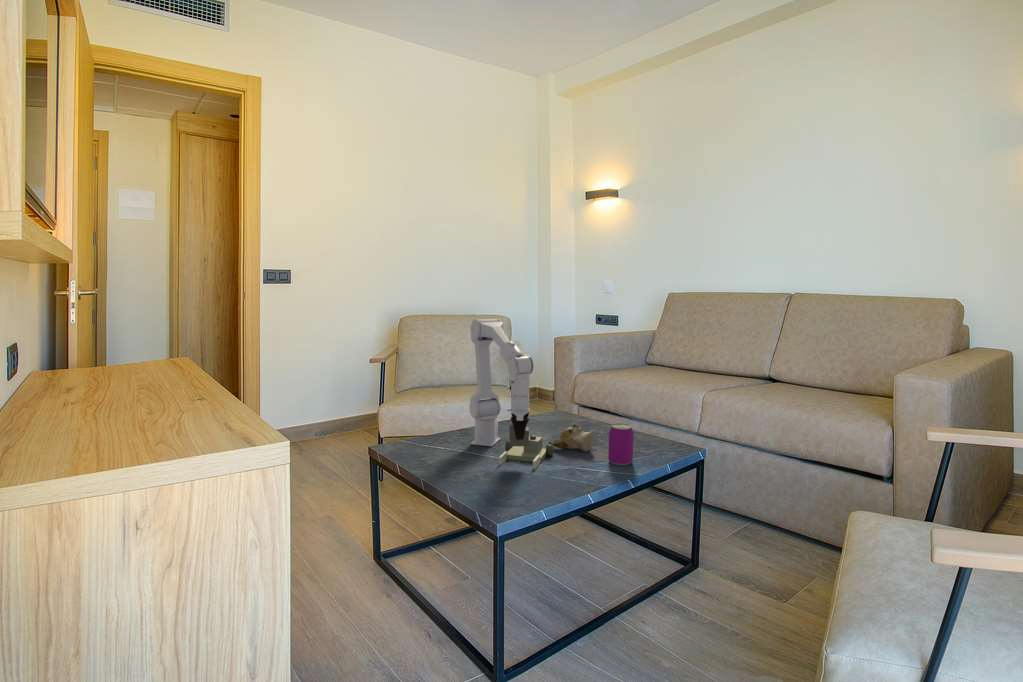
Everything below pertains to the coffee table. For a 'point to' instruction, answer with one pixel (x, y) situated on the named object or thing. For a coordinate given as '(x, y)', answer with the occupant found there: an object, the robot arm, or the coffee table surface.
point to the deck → (527, 451)
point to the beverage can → (621, 444)
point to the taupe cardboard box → (514, 441)
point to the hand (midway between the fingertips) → (519, 437)
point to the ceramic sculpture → (574, 439)
